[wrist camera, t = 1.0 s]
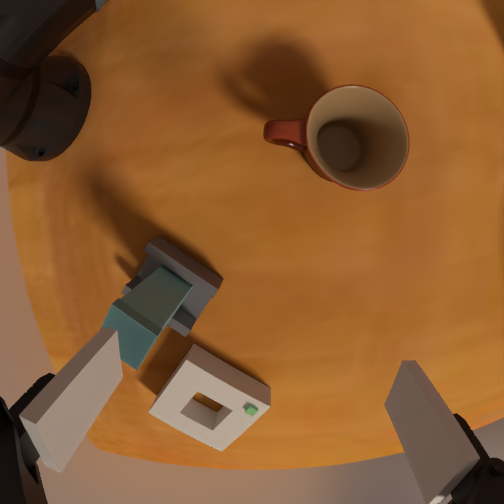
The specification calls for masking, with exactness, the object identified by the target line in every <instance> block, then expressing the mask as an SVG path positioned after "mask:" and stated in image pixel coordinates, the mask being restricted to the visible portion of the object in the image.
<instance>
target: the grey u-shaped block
mask: <svg viewBox="0 0 504 504" xmlns="http://www.w3.org/2000/svg"><path fill="white" fill-rule="evenodd" d="M143 251H144V252H146V253H147V254H148V256H147V257H146V259H145V261H144V263H143V265H142V267H141V268H140V270H139V272H138V274H137V276H136V277H135V278H134V279H133V280H131V281H130V282H129V283H127V284H126V285H125V287H124V289H123V291H122V294H124V295H126V294H127V293H128V292H130V291H131V290H132V289H133V288H135V287H136V286H137V285H138V284H139V283H141V282H142V281H143V280H144V279H146V278H147V277H148V276H149V275H151V274H152V273H153V272H154V271H156V270H157V269H158V268H159V267H161V266H162V265H164V266H166V267H167V268H168V269H170V270H171V271H173V272H174V273H176V274H177V275H179V276H180V277H182V278H183V279H184V280H186V281H187V282H189V283H190V284H192V285H193V287H192V288H191V290H190V292H189V293H188V295H187V296H186V298H185V299H184V301H183V303H182V304H181V306H180V307H179V308H178V310H177V311H176V313H175V314H174V315H173V317H172V318H171V320H170V321H169V323H168V324H167V325H168V326H169V327H171V328H172V329H174V330H175V331H177V332H178V333H180V334H181V335H183V336H184V337H186V336H187V335H188V333H189V332H190V330H191V329H192V327H193V325H194V323H195V321H196V319H197V318H198V316H199V315H200V313H201V312H202V310H203V309H204V307H205V306H206V304H207V303H208V302H209V300H210V299H211V298H213V297H214V295H215V294H216V292H217V291H218V289H219V287H220V285H221V283H222V281H223V278H221V277H220V276H218V275H217V274H215V273H214V272H212V271H211V270H209V269H208V268H206V267H205V266H203V265H202V264H200V263H199V262H197V261H196V260H194V259H193V258H191V257H190V256H188V255H187V254H185V253H184V252H182V251H181V250H179V249H178V248H177V247H175V246H174V245H172V244H171V243H169V242H168V241H166V240H165V239H164V238H162V237H161V236H159V237H157V238H155V239H153V240H151V241H149V242H148V243H147V245H146V247H145V249H144V250H143Z"/></svg>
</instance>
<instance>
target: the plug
mask: <svg viewBox="0 0 504 504" xmlns="http://www.w3.org/2000/svg"><path fill="white" fill-rule="evenodd" d="M192 287H193V285H192V284H190V283H189V282H187V281H186V280H184V279H183V278H182V277H180V276H179V275H177V274H176V273H174V272H173V271H171V270H170V269H168V268H167V267H166V266H164V265H162V266H161V267H159V268H158V269H157V270H156V271H154V272H153V273H152V274H151V275H149V276H148V277H147V278H146V279H144V280H143V281H142V282H141V283H139V284H138V285H137V286H136V287H135V288H133V289H132V290H131V291H130V292H128V293H127V294H126V295H125V296H124V297H122V298H121V299H117V300H116V301H115V302H114V303H112V305H111V307H110V309H109V311H108V313H107V316H106V318H105V320H104V322H103V324H102V327H101V329H102V328H103V327H105V328H110V329H114V330H117V332H118V342H119V351H120V359H121V360H122V361H124V362H125V363H127V364H128V365H130V366H131V367H133V368H134V369H136V370H137V369H138V368H139V366H140V365H141V363H142V362H143V360H144V358H145V357H146V355H147V353H148V352H149V350H150V349H151V347H152V345H153V344H154V342H155V341H156V340H157V338H158V337H159V335H160V334H161V332H162V331H163V330H164V328H165V327H166V325H167V324H168V323H169V321H170V320H171V318H172V317H173V315H174V314H175V313H176V311H177V310H178V308H179V307H180V306H181V304H182V303H183V301H184V299H185V298H186V296H187V295H188V293H189V292H190V290H191V288H192ZM101 329H100V330H101Z"/></svg>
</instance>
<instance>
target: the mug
mask: <svg viewBox="0 0 504 504" xmlns="http://www.w3.org/2000/svg"><path fill="white" fill-rule="evenodd" d="M263 136H264V139H265V140H266V141H267V142H269V143H271V144H275V145H280V146H286V147H289V148H292V149H295V150H298V151H302V152H303V153H304V157H305V159H306V161H307V163H308V165H309V166H310V167H311V169H312V170H313V171H314V172H315V173H316V174H317V175H319V176H320V177H322V178H323V179H326V180H328V181H331V182H334V183H336V184H338V185H340V186H342V187H344V188H347V189H351V190H356V191H370V190H375V189H378V188H381V187H383V186H385V185H387V184H389V183H390V182H391V181H393V180H394V179H395V178H396V177H397V176H398V175H399V173H400V172H401V170H402V169H403V167H404V165H405V163H406V160H407V157H408V153H409V134H408V129H407V126H406V123H405V120H404V118H403V116H402V115H401V113H400V111H399V110H398V108H397V107H396V106H395V105H394V104H393V103H392V102H391V101H390V100H389V99H388V98H387V97H386V96H384V95H383V94H381V93H380V92H378V91H376V90H374V89H372V88H369V87H366V86H362V85H342V86H338V87H335V88H333V89H331V90H329V91H327V92H326V93H324V94H323V95H322V96H320V97H319V98H318V99H317V100H316V101H315V103H314V104H313V105H312V106H311V108H310V110H309V112H308V116H307V118H302V119H296V120H272V121H268V122H267V123H266V124H265V125H264V132H263Z"/></svg>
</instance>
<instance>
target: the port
mask: <svg viewBox="0 0 504 504" xmlns="http://www.w3.org/2000/svg"><path fill="white" fill-rule="evenodd" d="M197 391H198V392H200V393H202V394H203V395H205V396H207V397H209V398H211V399H212V400H214V401H216V402H218V403H220V404H222V405H223V407H222V408H221V409H220V410H219V411H218V412H216V411H214V410H212V409H210V408H208V407H206V406H205V405H203V404H201V403H199V402H197V401H196V400H194V399H192V397H193V396H194V395H195V394H196V392H197ZM270 407H271V388H270V387H268V386H266V385H264V384H262V383H261V382H259V381H257V380H255V379H253V378H251V377H250V376H248V375H246V374H244V373H243V372H241V371H239V370H237V369H236V368H234V367H232V366H230V365H229V364H227V363H225V362H224V361H222V360H220V359H219V358H217V357H215V356H214V355H212V354H210V353H209V352H207V351H205V350H204V349H202V348H201V347H199V346H197V345H196V344H193V345H192V347H191V348H190V350H189V351H188V353H187V354H186V355H185V357H184V358H183V360H182V361H181V362H180V364H179V365H178V367H177V368H176V369H175V371H174V372H173V374H172V375H171V376H170V378H169V379H168V381H167V382H166V384H165V385H164V386H163V388H162V389H161V391H160V392H159V393H158V395H157V396H156V398H155V400H154V402H153V404H152V406H151V408H150V410H149V412H148V413H150V414H151V415H153V416H155V417H157V418H158V419H160V420H162V421H163V422H165V423H167V424H169V425H170V426H172V427H174V428H176V429H178V430H180V431H181V432H183V433H185V434H187V435H189V436H191V437H193V438H195V439H197V440H199V441H201V442H203V443H205V444H207V445H209V446H211V447H213V448H215V449H217V450H219V451H223V450H224V449H225V448H226V447H227V446H228V445H230V444H231V443H232V442H233V441H234V440H235V439H236V438H238V437H239V436H240V435H241V434H242V433H243V432H244V431H245V430H246V429H248V428H249V427H250V426H251V425H252V424H253V423H254V422H255V421H256V420H257V419H258V418H259V417H260V416H261V415H262V414H264V413H265V412H266V411H267V410H268V409H269V408H270Z"/></svg>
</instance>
